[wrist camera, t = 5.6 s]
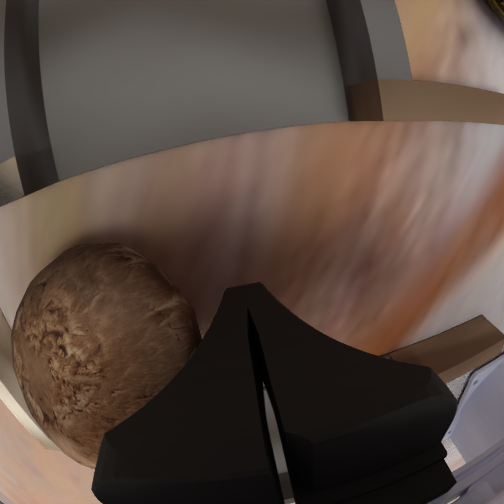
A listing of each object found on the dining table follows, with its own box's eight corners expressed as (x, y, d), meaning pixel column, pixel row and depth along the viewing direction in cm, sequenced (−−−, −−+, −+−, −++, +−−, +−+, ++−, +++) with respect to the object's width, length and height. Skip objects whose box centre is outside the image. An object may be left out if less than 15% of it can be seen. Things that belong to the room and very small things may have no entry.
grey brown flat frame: (441, 420, 19) (454, 441, 16) (126, 487, 17) (124, 512, 15) (450, -66, 5) (478, -79, 3) (-63, 23, 4) (-92, 19, 2)
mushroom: (262, 441, 10) (175, 544, 4) (115, 413, 13) (19, 453, 7) (240, 236, 11) (109, 202, 5) (94, 260, 14) (-18, 254, 8)
